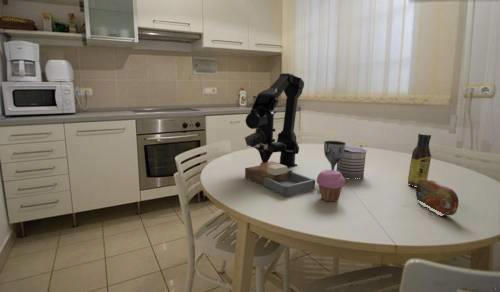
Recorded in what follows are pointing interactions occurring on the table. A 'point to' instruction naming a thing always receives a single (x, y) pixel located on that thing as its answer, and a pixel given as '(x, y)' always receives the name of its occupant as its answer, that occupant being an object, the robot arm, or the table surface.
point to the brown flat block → (264, 175)
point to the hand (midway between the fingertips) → (264, 164)
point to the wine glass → (334, 151)
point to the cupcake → (330, 184)
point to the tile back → (264, 165)
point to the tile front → (277, 169)
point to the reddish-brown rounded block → (437, 197)
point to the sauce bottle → (420, 160)
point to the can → (352, 162)
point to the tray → (290, 185)
